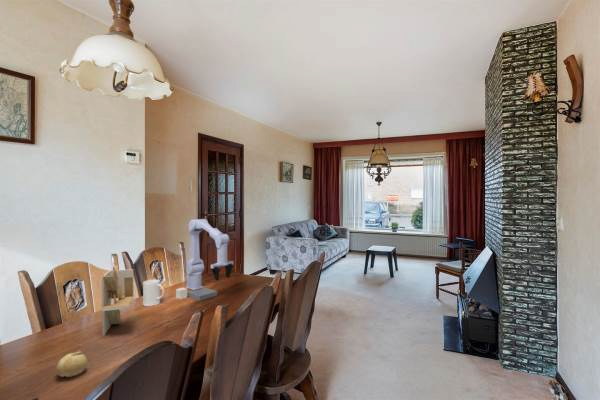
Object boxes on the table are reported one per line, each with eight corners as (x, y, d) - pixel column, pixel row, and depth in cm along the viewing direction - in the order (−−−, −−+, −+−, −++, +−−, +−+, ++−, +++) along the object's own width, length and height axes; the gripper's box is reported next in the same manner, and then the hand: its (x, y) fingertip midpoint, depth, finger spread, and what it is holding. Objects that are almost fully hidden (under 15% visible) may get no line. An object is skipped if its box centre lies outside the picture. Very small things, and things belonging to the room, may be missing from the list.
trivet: (187, 296, 178) (187, 292, 178) (205, 291, 187) (205, 287, 187) (199, 300, 170) (199, 296, 170) (217, 295, 180) (217, 291, 180)
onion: (66, 383, 93) (66, 360, 93) (50, 378, 96) (50, 355, 96) (93, 370, 101) (93, 348, 101) (77, 365, 104) (76, 344, 104)
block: (175, 298, 176) (175, 289, 176) (183, 296, 179) (183, 287, 179) (180, 299, 173) (180, 290, 173) (187, 297, 176) (187, 288, 176)
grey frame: (134, 321, 142) (134, 259, 142) (128, 336, 127) (128, 266, 127) (109, 325, 138) (109, 260, 138) (100, 340, 123) (100, 268, 123)
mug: (168, 302, 168) (168, 280, 168) (156, 307, 160) (156, 284, 160) (151, 300, 171) (151, 278, 171) (138, 305, 163) (138, 282, 163)
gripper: (215, 258, 170) (215, 282, 170) (236, 254, 181) (236, 277, 181) (208, 256, 174) (208, 280, 174) (229, 253, 186) (229, 275, 186)
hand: (222, 278), depth 178 cm, fingers open, 7 cm apart
